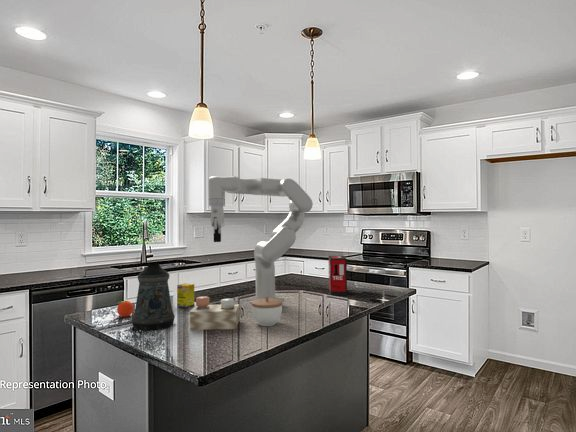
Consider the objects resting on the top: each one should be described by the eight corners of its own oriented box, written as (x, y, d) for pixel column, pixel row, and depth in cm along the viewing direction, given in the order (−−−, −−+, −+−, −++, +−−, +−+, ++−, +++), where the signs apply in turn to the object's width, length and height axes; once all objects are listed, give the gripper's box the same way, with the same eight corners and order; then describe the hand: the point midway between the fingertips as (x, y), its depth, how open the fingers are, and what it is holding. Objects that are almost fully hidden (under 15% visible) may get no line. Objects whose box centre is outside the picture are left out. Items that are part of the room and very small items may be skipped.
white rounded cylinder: (234, 320, 165) (234, 298, 164) (233, 323, 159) (233, 301, 159) (222, 320, 164) (222, 298, 164) (220, 323, 159) (220, 301, 159)
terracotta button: (210, 318, 164) (210, 296, 164) (208, 321, 159) (208, 299, 159) (197, 318, 164) (197, 296, 164) (195, 321, 159) (194, 299, 159)
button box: (239, 320, 168) (238, 304, 168) (235, 329, 156) (235, 311, 156) (196, 321, 168) (196, 304, 168) (189, 329, 156) (189, 311, 156)
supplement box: (177, 307, 194) (176, 284, 194) (185, 304, 199) (185, 282, 199) (186, 308, 191) (186, 285, 191) (194, 305, 197) (194, 283, 197)
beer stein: (138, 334, 151) (137, 268, 151) (125, 323, 166) (124, 263, 166) (180, 326, 160) (180, 264, 160) (164, 316, 176) (164, 260, 176)
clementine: (113, 319, 173) (113, 302, 173) (115, 315, 179) (115, 299, 179) (133, 317, 175) (132, 301, 175) (134, 314, 181) (134, 298, 181)
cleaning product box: (346, 295, 219) (346, 258, 219) (330, 295, 220) (330, 258, 220) (343, 289, 236) (343, 255, 236) (328, 289, 236) (328, 255, 236)
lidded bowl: (266, 318, 172) (266, 292, 172) (288, 322, 164) (288, 296, 164) (245, 324, 162) (245, 297, 162) (268, 330, 154) (268, 301, 154)
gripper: (222, 202, 180) (223, 242, 180) (227, 203, 195) (227, 240, 195) (205, 202, 180) (206, 243, 180) (211, 203, 195) (212, 240, 195)
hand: (217, 241), depth 188 cm, fingers closed
